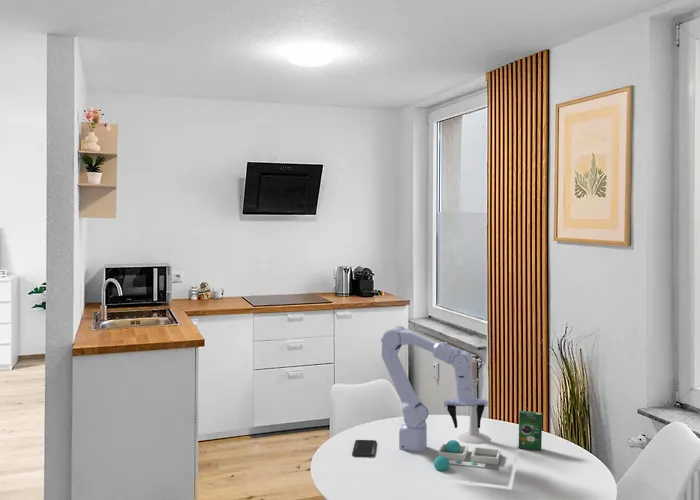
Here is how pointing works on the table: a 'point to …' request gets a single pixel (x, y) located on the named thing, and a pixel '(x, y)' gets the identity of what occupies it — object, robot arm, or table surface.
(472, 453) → the sorting tray
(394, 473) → the table surface
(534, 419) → the coffee box
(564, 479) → the table surface
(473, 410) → the candlestick
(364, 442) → the phone
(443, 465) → the loose teal ball
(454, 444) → the seated teal ball
